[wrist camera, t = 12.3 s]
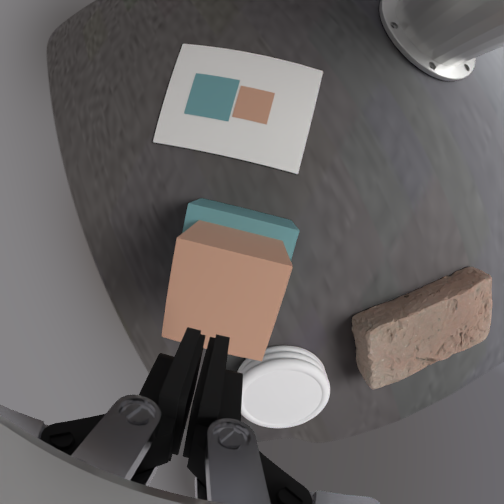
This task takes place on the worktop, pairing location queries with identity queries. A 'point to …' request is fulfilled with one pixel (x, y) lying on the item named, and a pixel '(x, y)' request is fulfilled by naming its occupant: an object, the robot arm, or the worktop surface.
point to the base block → (242, 221)
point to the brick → (422, 327)
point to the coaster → (283, 387)
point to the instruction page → (239, 106)
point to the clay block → (226, 287)
